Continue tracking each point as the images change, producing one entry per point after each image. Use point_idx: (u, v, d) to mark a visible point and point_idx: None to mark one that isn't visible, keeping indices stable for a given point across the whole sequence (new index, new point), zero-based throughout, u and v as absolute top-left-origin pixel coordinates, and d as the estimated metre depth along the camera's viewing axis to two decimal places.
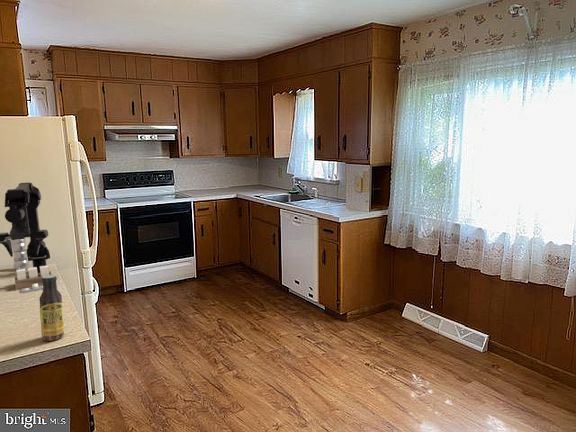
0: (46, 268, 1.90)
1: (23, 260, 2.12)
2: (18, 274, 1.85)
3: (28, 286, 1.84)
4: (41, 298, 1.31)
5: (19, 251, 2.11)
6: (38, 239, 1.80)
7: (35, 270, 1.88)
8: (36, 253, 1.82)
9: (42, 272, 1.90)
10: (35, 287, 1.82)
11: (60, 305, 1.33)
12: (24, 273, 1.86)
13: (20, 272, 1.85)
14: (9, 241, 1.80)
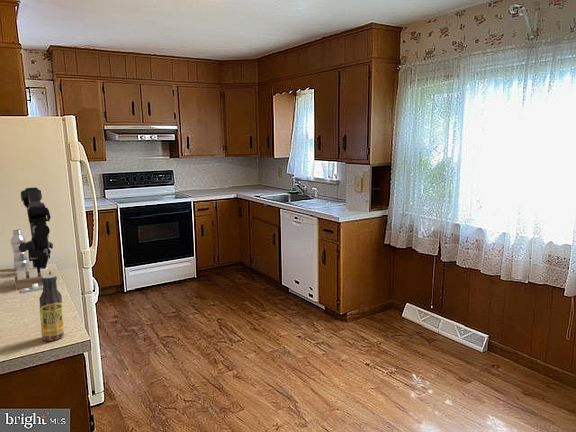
0: (46, 270, 1.90)
1: (23, 260, 2.12)
2: (18, 274, 1.85)
3: (28, 286, 1.84)
4: (41, 298, 1.31)
5: (19, 251, 2.11)
6: None
7: (35, 270, 1.88)
8: (42, 267, 1.91)
9: (42, 274, 1.90)
10: (35, 287, 1.82)
11: (60, 305, 1.33)
12: (24, 273, 1.86)
13: (20, 272, 1.85)
14: None
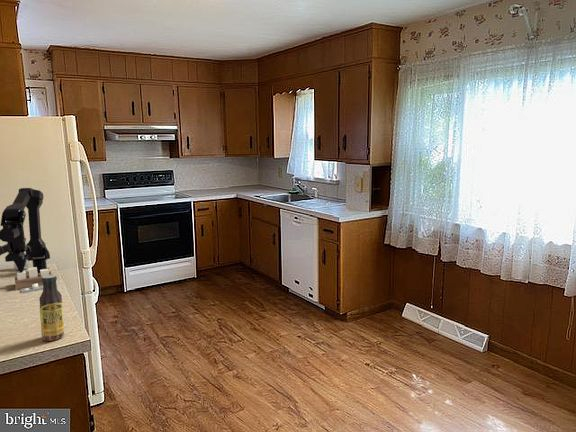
0: (46, 271, 1.91)
1: None
2: (19, 276, 1.85)
3: (28, 286, 1.84)
4: (41, 298, 1.31)
5: None
6: None
7: (35, 270, 1.88)
8: (19, 271, 1.86)
9: (42, 275, 1.90)
10: (35, 287, 1.82)
11: (60, 305, 1.33)
12: (24, 275, 1.86)
13: (21, 274, 1.85)
14: None
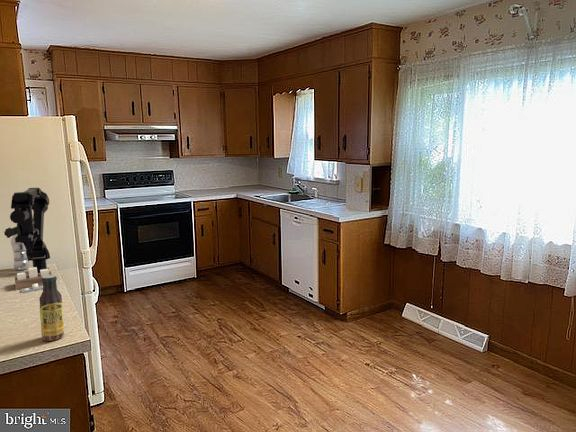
0: (46, 271, 1.91)
1: (23, 260, 2.12)
2: (19, 277, 1.85)
3: (28, 286, 1.84)
4: (41, 298, 1.31)
5: (19, 251, 2.11)
6: None
7: (35, 270, 1.88)
8: (27, 252, 1.95)
9: (42, 275, 1.90)
10: (35, 287, 1.82)
11: (60, 305, 1.33)
12: (24, 276, 1.86)
13: (21, 275, 1.85)
14: None
